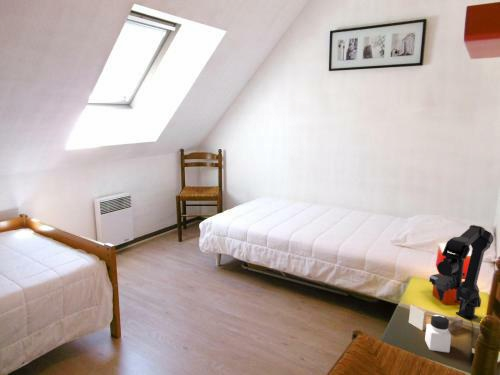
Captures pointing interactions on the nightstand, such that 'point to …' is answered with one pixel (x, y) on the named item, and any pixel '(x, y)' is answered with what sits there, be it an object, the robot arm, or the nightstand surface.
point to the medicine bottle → (438, 334)
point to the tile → (417, 317)
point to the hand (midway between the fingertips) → (450, 305)
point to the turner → (454, 323)
